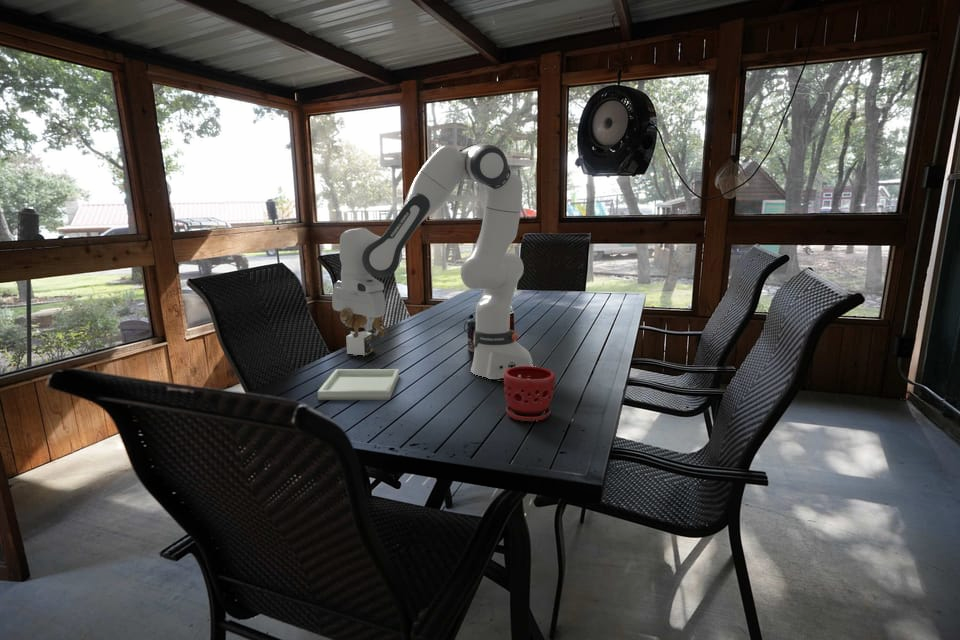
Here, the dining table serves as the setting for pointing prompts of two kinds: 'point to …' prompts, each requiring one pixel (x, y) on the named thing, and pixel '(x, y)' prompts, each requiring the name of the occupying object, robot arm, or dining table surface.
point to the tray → (359, 384)
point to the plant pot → (528, 392)
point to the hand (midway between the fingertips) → (358, 328)
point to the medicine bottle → (359, 342)
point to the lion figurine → (360, 322)
